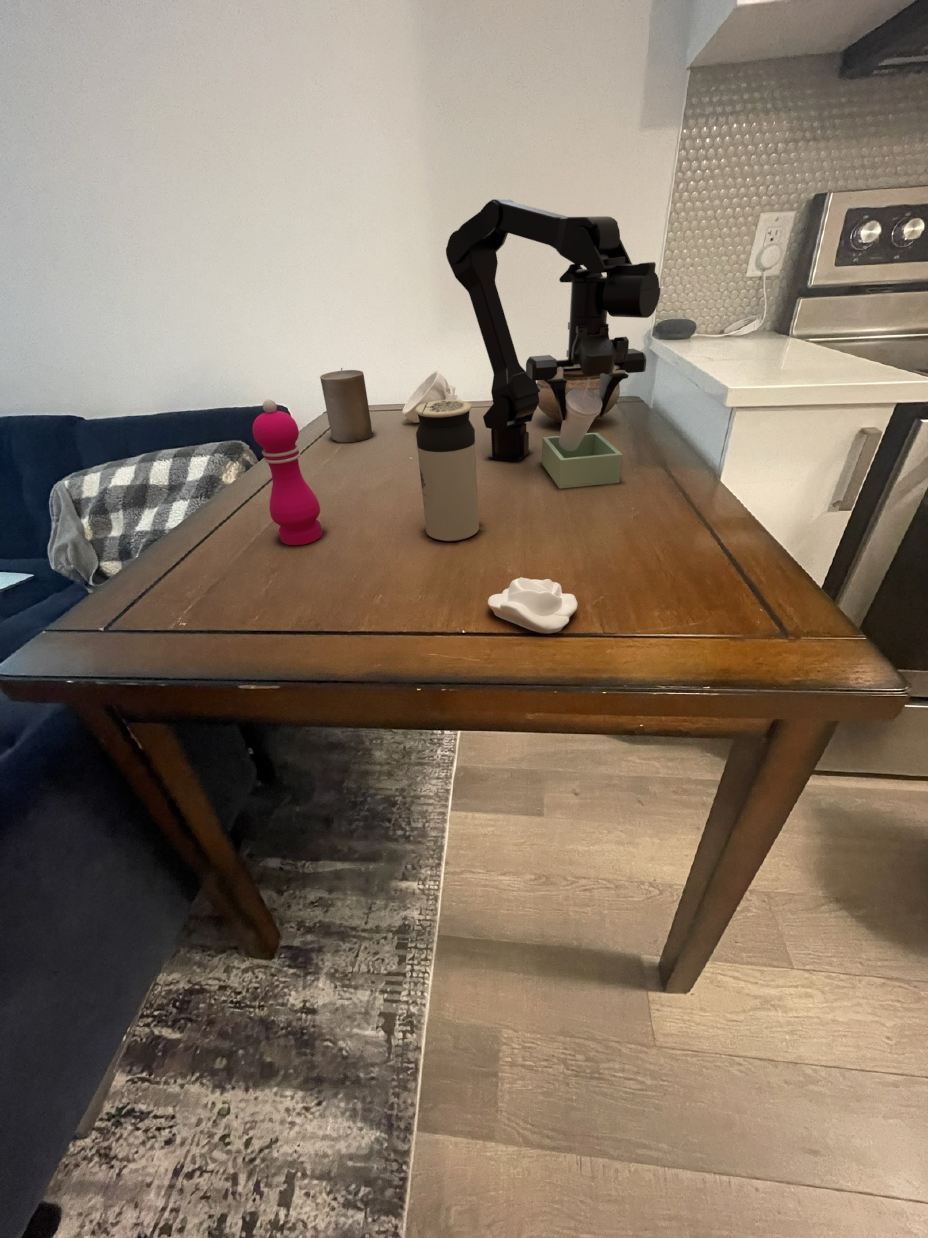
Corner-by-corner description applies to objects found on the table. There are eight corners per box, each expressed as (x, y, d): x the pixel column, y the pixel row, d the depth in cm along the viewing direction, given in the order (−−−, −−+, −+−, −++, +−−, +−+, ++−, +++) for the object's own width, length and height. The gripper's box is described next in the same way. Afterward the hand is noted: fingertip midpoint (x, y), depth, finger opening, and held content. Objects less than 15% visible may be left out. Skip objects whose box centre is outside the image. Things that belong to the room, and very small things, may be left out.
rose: (490, 605, 56) (484, 561, 64) (491, 640, 59) (485, 593, 67) (586, 599, 56) (568, 555, 64) (583, 633, 58) (566, 587, 67)
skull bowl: (475, 415, 132) (445, 371, 125) (430, 451, 135) (398, 410, 128) (467, 405, 140) (439, 363, 133) (425, 439, 143) (395, 400, 137)
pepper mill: (283, 551, 79) (244, 409, 68) (273, 533, 85) (236, 399, 73) (331, 539, 82) (301, 400, 71) (318, 522, 87) (289, 390, 76)
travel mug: (483, 520, 84) (478, 398, 74) (473, 543, 78) (466, 413, 68) (433, 519, 86) (422, 399, 76) (420, 541, 79) (405, 414, 69)
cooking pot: (526, 412, 137) (527, 359, 130) (601, 406, 137) (605, 353, 130) (543, 440, 116) (545, 379, 109) (631, 434, 116) (638, 372, 110)
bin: (541, 463, 105) (542, 437, 102) (595, 458, 105) (597, 432, 102) (559, 488, 93) (560, 459, 91) (619, 482, 94) (622, 454, 91)
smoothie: (548, 431, 101) (569, 364, 89) (581, 431, 102) (606, 365, 90) (555, 456, 98) (578, 391, 86) (588, 456, 99) (616, 392, 87)
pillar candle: (378, 430, 131) (368, 362, 122) (365, 442, 123) (353, 371, 114) (340, 431, 132) (328, 364, 124) (324, 443, 125) (310, 372, 116)
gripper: (541, 325, 78) (538, 436, 87) (667, 316, 79) (652, 426, 88) (525, 318, 87) (524, 418, 96) (638, 309, 88) (627, 409, 97)
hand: (581, 418), depth 94 cm, fingers closed on smoothie, 6 cm apart
